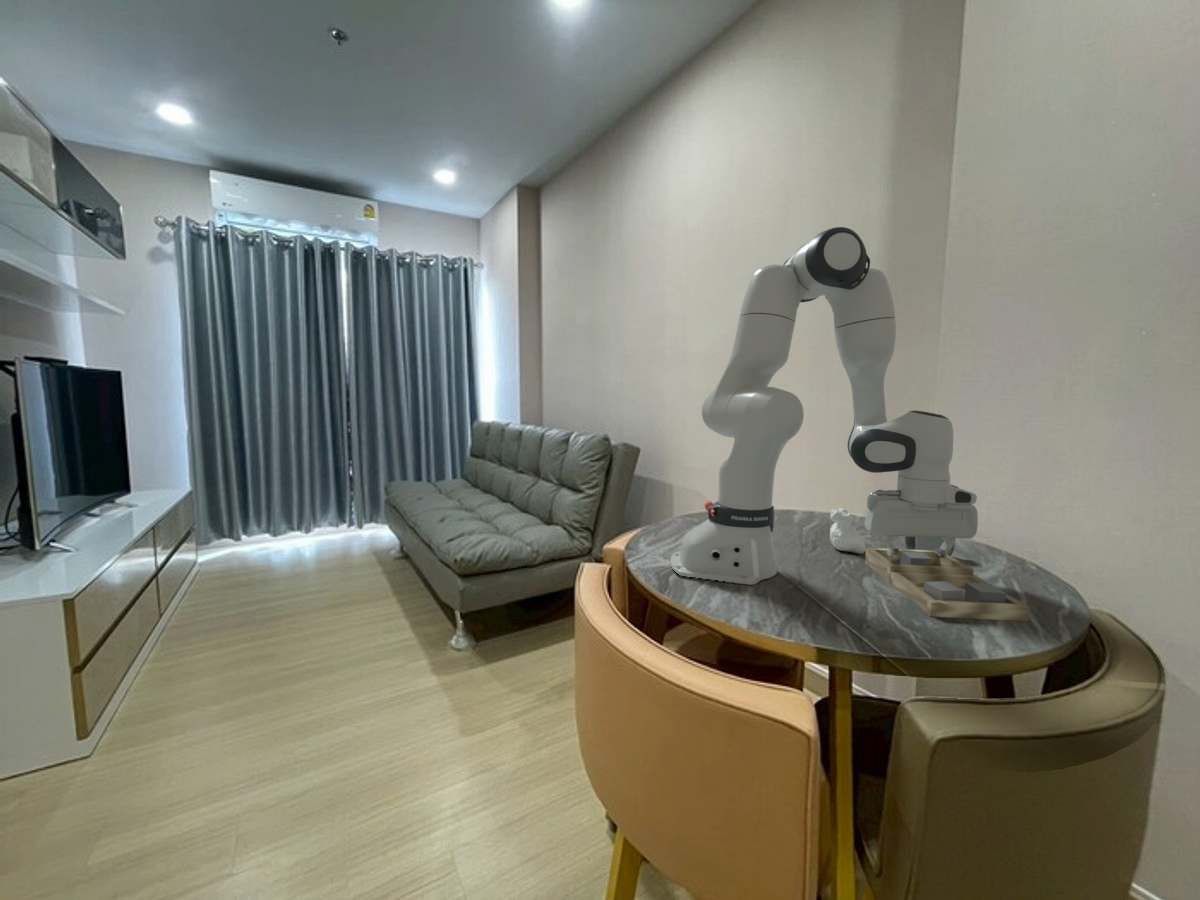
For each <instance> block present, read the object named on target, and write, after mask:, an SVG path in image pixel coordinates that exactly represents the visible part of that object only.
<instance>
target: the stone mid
mask: <svg viewBox="0 0 1200 900" xmlns="http://www.w3.org/2000/svg"><path fill="white" fill-rule="evenodd" d="M900 564H902V565H926V566H931V565H932V558H930V557H928V556H927V555H925V554H923V553H922V552H902V551H901V561H900Z"/></svg>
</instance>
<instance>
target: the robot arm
mask: <svg viewBox="0 0 1200 900" xmlns="http://www.w3.org/2000/svg"><path fill="white" fill-rule="evenodd" d="M870 265H871V259H870V257H869V255H868V253H867V250H866V246H865V243H864V242H863V240H862V238H861V236H860V235H858V233H856V232H855V231H854V230H853V229H851V228H848V227H845V226H843V227H842V226H839V227H831V228H829V229H826V230H823V231H821V232H820V233H818V234H817V235H815V236H814V237H813V238H812V239H810V240H809V241H807V242H806V243H804V244H803V245H801V246H800V247H799V248H798V249H796V251H795V252H794V253H793V254H792V256H790V257H789V258H787V260H786V261H785V262H784V263H783V264H770V265H766V266H763V267H761V268H759V269H757V270H756V271H755V272H754V273H753V274H752V276H751V278H750V281H749V283H748V287H747V289H746V292H745V294H744V297H743V301H742V306H741V308H740V314H739V318H738V323H737V328H736V333H735V337H734V343H733V348H732V352H731V354H730V358H729V360H728V362H727V365H726V367H725V370H724V372H723V374H722V375H721V378H720V379H719V381H718V382H717V383H718V384H717V385H716V387H715V388H714V390H712V392H711V393H710V394H708V396H707V397H706V398H705V400H704V401H703V404H702V409H701V417H702V421H703V422H704V424H705V426H706V427H707V428H708V429H710V430H711V431H714V432H715V433H717V434H718V435H721V436H723V437H728V438H734V440H733V441H734V442H733V444H732V445H733V446H732V448H731V452H730V454H729V456H728V458H727V459H726V460H725V461H723V462H722V463H721V465H720V467H719V470H718V474H719V475H718V494H717V495H718V496H717V497H718V498H717V499H718V500H717V501H716V502H714V503H713V501H711V500H707V501H706V502H705V503H704V509H705V510H706V511H707V517H708V518H707V519H705V520H704V521H703V522H701V523H700V524H698V525H697V526H695V527H694V528H693V529H691V530H689V531H688V532H687V533H686V534H685V535H684V537H683V539H682V543H681V546H680V550H677V551H675V552H674V553H672V555H671V557H670V561H671V562H670V563H671V565H670V568H671V567H672V568H671V570H672V569H673V570H674V571H675V572H676V573H678V574H679V575H682V576H687V577H686V578H689V577H696V578H695V579H698V578H703V579H702V580H706V579H711V580H710V581H715V580H718V582H723V581H725V582H726V583H732V582H733V583H732V584H742V585H749V586H751V585H756V584H758V583H759V582H760V581H763V580H767V579H770V578H773V577H775V575H777V574H778V569H777V566H776V561H775V556H774V547H773V535H772V533H773V532H774V526H775V509H774V508H775V506H774V505H773V494H774V480H775V471H776V467H777V463H778V461H779V459H780V455H781V453H782V451H783V450H784V447H785V446H786V444H787V443H789V441H790V440H791V439H792V438H794V437H795V436H796V435H797V434H798V433H799V431H800V429H801V427H802V425H803V422H804V407H803V404H802V402H801V400H800V398H799V397H798V395H795V394H794V393H793V392H790V391H787V390H785V389H782V388H779V387H778V388H777V387H773V386H769V384H770V382H771V380H772V379H773V378H774V376H775V374H776V373H777V372H778V371H779V370H780V369H782V368H783V367H784V365H786V363H787V361H788V359H789V354H790V349H791V346H792V345H791V344H792V340H793V335H794V329H795V326H796V319H797V315H798V313H797V311H798V309H799V306H800V303H807V302H811V301H814V300H816V299H818V298H820V297H822V296H824V298H825V299H826V300H827V302H828V304H829V305H830V307H831V311H832V313H833V324H834V337H835V343H836V347H837V350H838V355H839V357H840V360H841V362H842V366H843V368H844V369H845V372H846V375H847V377H848V379H849V383H850V386H851V395H852V408H853V427H852V429H851V431H850V434H849V436H848V439H847V451H848V455H849V456H850V458H851V459H852V460H853V462H854V463H855V464H856V466H857V467H859V469H861V470H863V471H865V472H869V473H872V474H873V473H874V474H881V473H890V472H898V473H897V485H896V487H897V488H896V489H891V490H890V489H889V490H883V489H877V490H875V491H873V492H871V493H870V494H869V495H868V496H867V499H866V500H867V503H866V506H867V510H866V514H865V519H864V528H865V530H866V531H867V532H868V533H869V534H871V535H874V536H882V537H881V539H882V540H883V542H884V543H885V545H886V549H887V555H889V556H898V552H899V549H900V548H898V547H896V546H895V545H894V544H893V542H894V541H895V537H905V536H913V537H941V538H942V540H944V542H943V543H942V545H941V546H940V548H935V551H936V552H935V556H936V557H938V558H944V559H946V558H947V555H948V551H949V550H950V549H951V547H952V546H953V545H954V544H955V545H956V539H973V538H974V537H975V536H976V535H977V532H978V526H979V525H978V521H979V518H978V517H979V516H978V510H977V508H976V506H975V505H974V504H976V502H977V499H978V497H977V494H976V493H973V492H971V491H969V490H966V489H963V488H961V487H959V486H956V485H954V484H951V475H950V464H951V461H952V459H953V453H954V428H953V427H954V426H953V424H952V421H951V420H950V419H949V418H948V417H946V416H945V415H942V414H940V413H939V414H937V413H934V412H927V411H922V410H910V411H907V412H906V413H904V414H903V415H900V416H899V417H896V418H894V419H892V420H889V421H888V419H887V415H886V414H887V413H886V412H887V409H886V399H885V385H884V383H885V377H886V373H887V369H888V366H889V364H890V362H891V360H892V358H893V356H894V352H895V346H896V338H897V337H896V334H897V326H896V325H897V324H896V315H895V306H894V301H893V297H892V292H891V288H890V285H889V281H888V280H887V277H886V274H885V273H884V272H883V271H881V270H880V269H878V268H874V267H871V266H870ZM670 563H669V564H670ZM673 570H672V571H673ZM674 571H673V572H674ZM675 572H674V573H675ZM676 573H675V574H676ZM679 575H678V576H679ZM682 576H681V577H682ZM725 582H724V583H725Z"/></svg>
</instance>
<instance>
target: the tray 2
mask: <svg viewBox="0 0 1200 900" xmlns="http://www.w3.org/2000/svg"><path fill="white" fill-rule="evenodd" d="M936 581H946V582H948V583H950V584H952V585H954V586H956V587H958V588H960V589H962V590H964V593H963V601H947V600H934V599H933V598H932V597H930V596H929V595H928V594H926V593H925V592H924V582H936ZM966 583H984V584H990V583H988V582H987V581H985V580H984V579H982V578H980V577H978V576H976V575H975V574H973V575H962V574H938V573H914V572H891V578H890V583H889V584H890V585H892V586H893V587H894V588H895V589H896V590H897V591H898V592H900V593H901V594H902V595H904V597H906V598H907V599H908V600H910V601H911V602H912V603H913V604H915V605H916V606H917V607H918V608H919V609H921V610H922V612H924V613H926V614H927V615H928V616H929V617H934V618H937V617H938V618H953V619H974V620H975V619H976V620H989V621H990V620H994V621H995V620H996V621H1014V622H1029V618H1030V611H1031V607H1030V606H1029V605H1026V604H1025V603H1023V602H1022V601H1021V600H1018V599H1016V598H1014V597H1013V596H1011V595H1009V594H1007V593H1006V598H1005V603H989V602H968V601H964V596H965V586H966Z"/></svg>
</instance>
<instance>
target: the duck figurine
mask: <svg viewBox="0 0 1200 900" xmlns="http://www.w3.org/2000/svg"><path fill="white" fill-rule="evenodd" d="M830 520H831V521H832V523H833V524H832V525H831V527H830V529H829V531H830V532H829V539H830V540H829V541H830V542H831V545H832V546H833V547H834V548H835V549H836V550H839V551H842V552H848V553H849V552H850V553H854V554H857V555H863V554H864V553H865V552H866V541H865V539H864V537H863V535H862V534H861V533H860V532H859V531H857V529H856V528H855V527H854V526H853V525H852V522H853V521H854V520H855V515H853V514H852V513H851V512H850V513H849V512H848V510H847V509H845V508H843V507H840V508H835V509H832V510H831V511H830Z"/></svg>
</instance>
